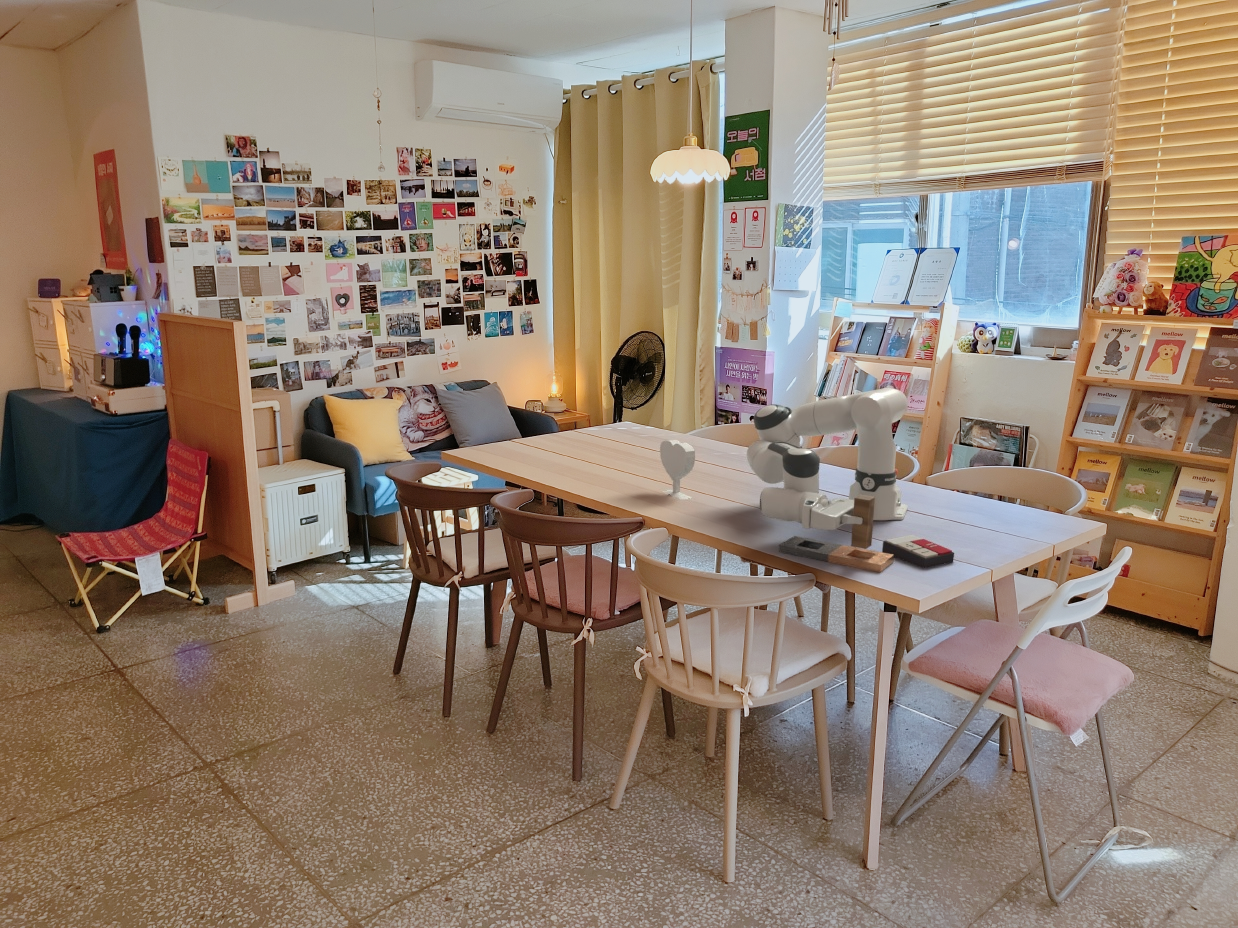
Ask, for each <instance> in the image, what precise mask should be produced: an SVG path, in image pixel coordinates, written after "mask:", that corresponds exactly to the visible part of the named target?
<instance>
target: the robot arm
mask: <svg viewBox="0 0 1238 928" xmlns="http://www.w3.org/2000/svg"><path fill="white" fill-rule="evenodd" d="M908 405H909V401H908V398H907V396H906V395H905V393H904V392H903V391H901V390H899V389H897V388H893V387H883V388H878V389H873V390H869V391H868V390H867V391H862V392H858V393H853V394H847V395H843V396H837V397H833V398H832V397H831V398H826V399H821V400H816V401H812V402H807V403H804V404H802V405H798V406H796V407H795V408H793V409H791V408H790V407H788V406H783V405H781V404H774V403H773V404H768V405H765V406H762V407H761V408H760V409H759V410H757V411H756V413H754V416H753V424H754V428H755V429H756V431H757V434H758V437H759V440H756V441H754V442H752V443H751V444H750V445H749V446H748V448H747V451H746V461H747V463H748V466H749V467H750V469H751V470H752V471H753V473H754V474H755V475H756V476H757V478H759V480H761V481H762V482H764V483H766V484H771V485H774V484H775V485H776V484H779V483H782V482H783V487H773V486H772V487H763V489H762V491H761V492H760V495H759V509H760V512H761V514H762V515H764V516H766V517H769V518H772V519H774V520H779V521H784V522H796V523H798V524H800V525H801V527H802V529H805V530H811V529H815V530H822V531H823V530H824V531H836V530H837V529H838V528H840V527H841V526H844V525H853V524H862V523H863V522H864V517H862V516H853V511H854V498H855V497H857V496H859V495H865V496H871V497H875V504H874V517H873V521H889V520H890V521H891V520H896V521H899V520H900V521H901V520H902V521H903V520H904V518H905V515H906V514H907V512H908V507H909V506H908V505H907V504H905V503H902V491H901V489H900V488H899V486H898V485H897V483H896V482H897V475H898V469H897V468H895V467H896V453H897V446H896V445H897V444H896V443H895V441H894V437H893V431H892V429H893V427H892V425H893V423H896V422H899V420H901V418H902V417H904V415H905V413H906V412H907V411H908V407H909V406H908ZM851 431H856V434H857V441H858V443H857V444H858V449H857V450H858V454H857V468H855V472H854V480H855V482H853V483H852V484H850V486H849V494H848V498H834V499H832V500H830V499H828V496H827V495H826V494H824V493H820V462H821V458H820V456H819V455H818V454H817V453H816V452H815V451H813V450H812V449H810V448H805V447H804V448H803V447H802V445H801V444H800V440H799V437H818V436H826V435H827V436H828V435H832V434H839V433H846V432H851Z"/></svg>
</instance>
